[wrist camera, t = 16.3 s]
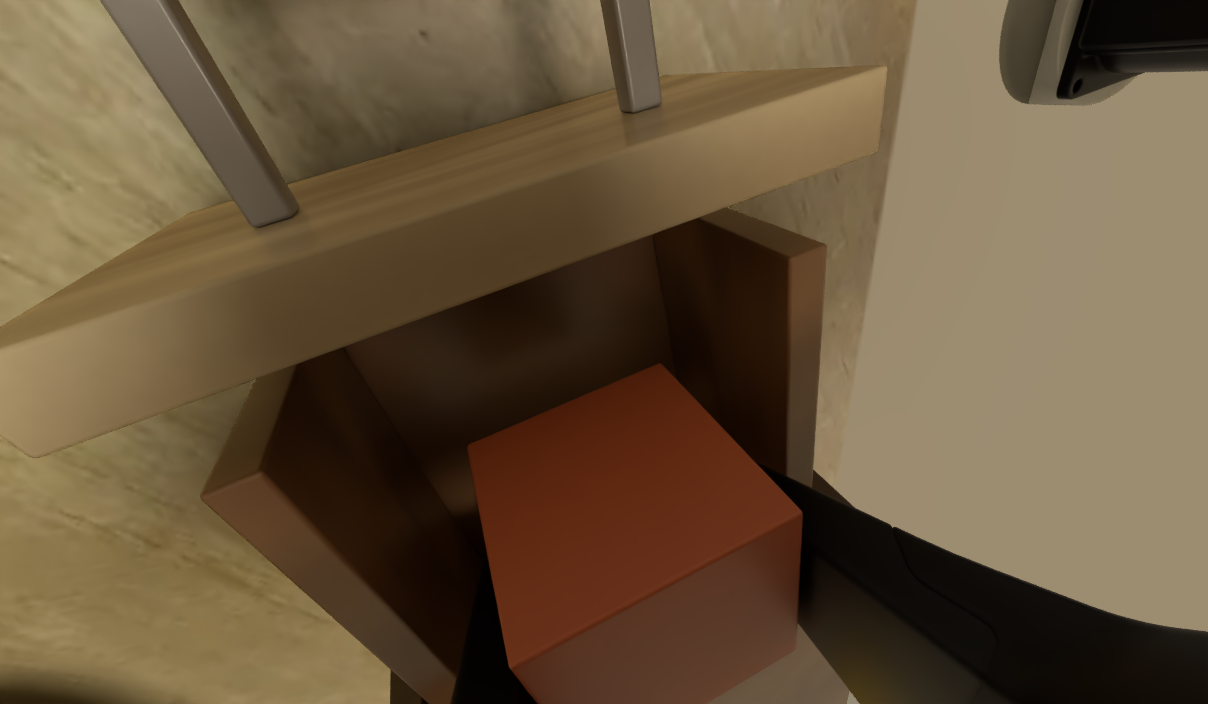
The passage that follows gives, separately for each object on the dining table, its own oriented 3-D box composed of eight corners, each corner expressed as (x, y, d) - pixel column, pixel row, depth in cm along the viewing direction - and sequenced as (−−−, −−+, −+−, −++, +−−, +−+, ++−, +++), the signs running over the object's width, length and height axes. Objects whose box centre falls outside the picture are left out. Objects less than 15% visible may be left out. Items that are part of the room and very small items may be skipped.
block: (660, 361, 9) (805, 511, 6) (684, 489, 11) (797, 650, 8) (465, 443, 8) (508, 670, 5) (531, 564, 11) (590, 774, 7)
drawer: (-31, -84, 7) (-1506, -670, 2) (631, -190, 9) (967, -592, 4) (445, 563, 17) (467, 786, 12) (708, 438, 19) (830, 577, 14)
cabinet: (391, 503, 16) (387, 816, 9) (702, 367, 19) (884, 533, 12) (521, 675, 24) (571, 910, 17) (725, 564, 27) (841, 732, 20)
